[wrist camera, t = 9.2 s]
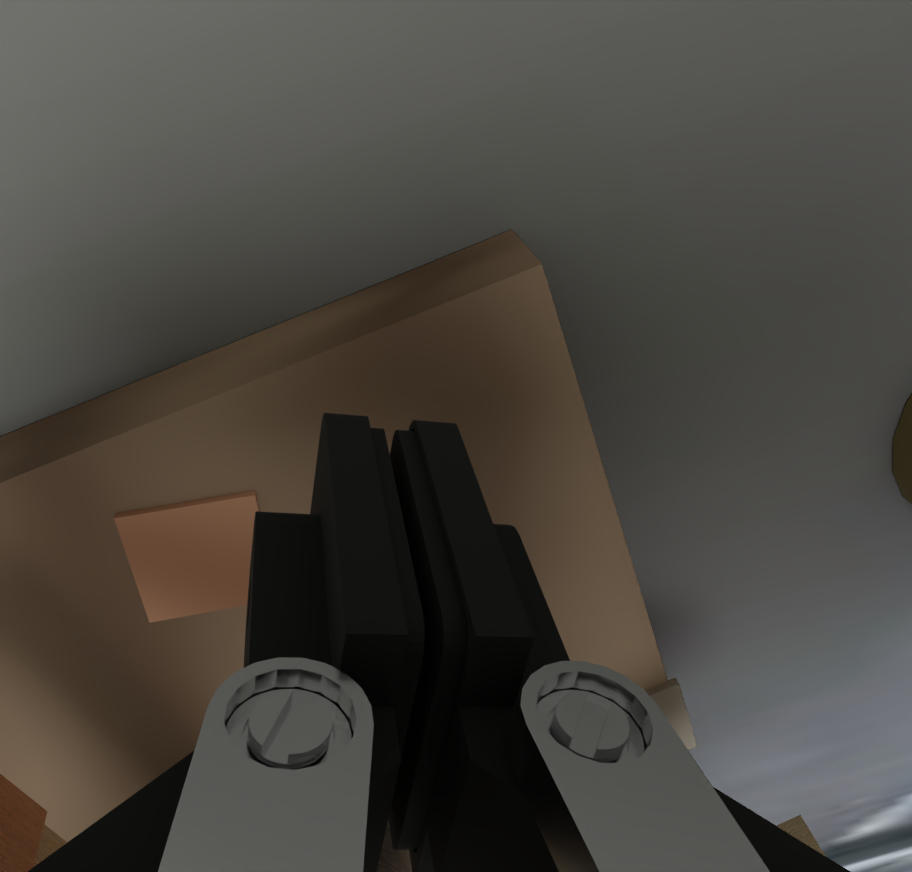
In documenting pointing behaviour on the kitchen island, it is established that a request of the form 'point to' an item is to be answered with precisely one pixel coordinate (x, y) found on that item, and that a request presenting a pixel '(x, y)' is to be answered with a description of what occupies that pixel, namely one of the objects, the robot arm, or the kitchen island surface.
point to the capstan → (30, 841)
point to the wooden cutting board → (283, 491)
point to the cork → (904, 452)
